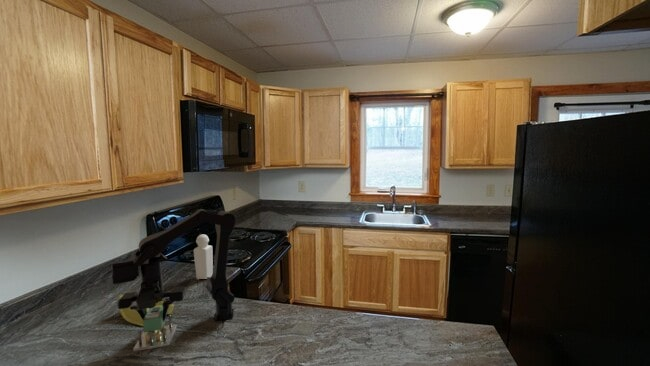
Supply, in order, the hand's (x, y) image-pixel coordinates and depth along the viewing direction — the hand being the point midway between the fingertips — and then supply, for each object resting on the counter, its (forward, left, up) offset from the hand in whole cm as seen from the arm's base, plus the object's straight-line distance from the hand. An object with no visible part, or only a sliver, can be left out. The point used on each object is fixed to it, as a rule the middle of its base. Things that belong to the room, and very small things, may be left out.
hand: (155, 321), depth 97 cm
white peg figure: (-48, +9, -6) cm, 49 cm away
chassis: (0, 0, -6) cm, 6 cm away
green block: (0, 0, -1) cm, 1 cm away
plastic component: (-17, -8, -6) cm, 20 cm away
